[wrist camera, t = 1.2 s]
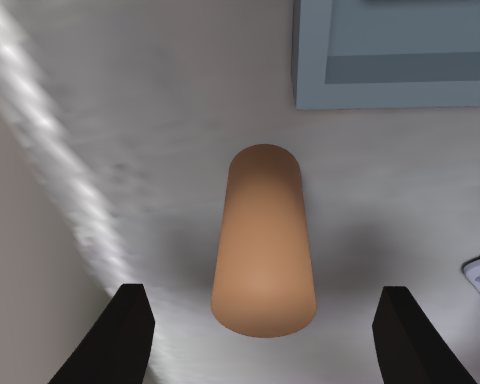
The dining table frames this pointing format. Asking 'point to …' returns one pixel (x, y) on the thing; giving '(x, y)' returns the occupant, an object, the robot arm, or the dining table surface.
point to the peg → (264, 247)
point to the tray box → (385, 53)
